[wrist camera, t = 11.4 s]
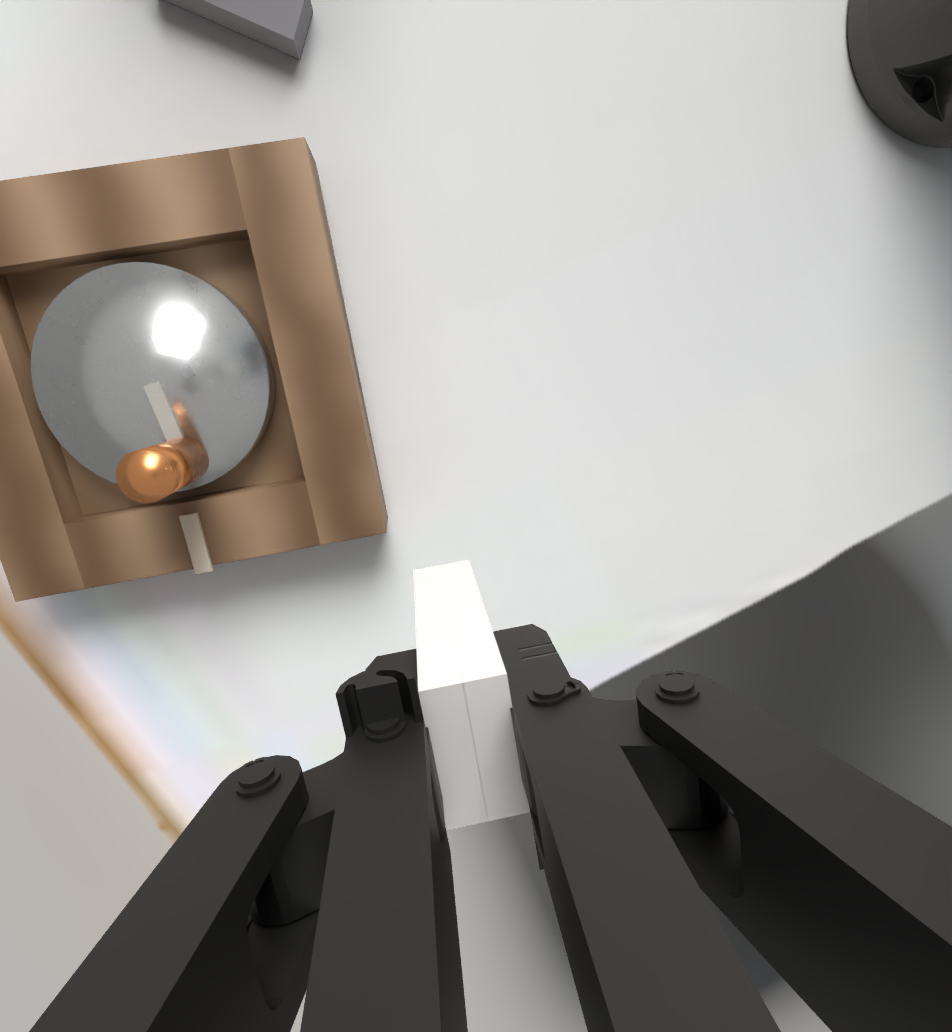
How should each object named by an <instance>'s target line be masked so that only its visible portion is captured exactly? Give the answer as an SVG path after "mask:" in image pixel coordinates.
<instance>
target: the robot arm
mask: <svg viewBox="0 0 952 1032" xmlns="http://www.w3.org/2000/svg"><path fill="white" fill-rule="evenodd" d="M847 31H848V44H849V52H850V57H851V62H852V66H853V70H854V73H855V76H856V79H857V81H858V84H859V86H860V89H861V91H862V93H863V95H864V96H865V98H866V100H867V102H868V103H869V105H870V106H871V108H872V109H873V110H874V112H875V113H876V114H877V115H878V116H879V118H880V119H881V120H882V121H883V122H884V123H885V124H887V125H888V126H889V127H890V128H891V129H893V130H894V131H895V132H897V133H898V134H900V135H902V136H903V137H905V138H907V139H909V140H912V141H914V142H917V143H920V144H924V145H927V146H934V147H952V0H849V7H848V23H847ZM413 572H414V598H415V623H416V649H413V650H407V651H402V652H397V653H392V654H387V655H382V656H377V657H376V658H375V659H374V660H373V662H372V663H371V664H370V665H369V666H368V667H367V669H366V671H364V672H361V673H359V674H357V675H355V676H353V677H351V678H349V679H348V680H347V681H346V682H344V683H343V684H342V685H341V686H340V687H339V689H338V691H337V692H336V698H337V702H338V706H339V710H340V714H341V719H342V723H343V727H344V731H345V735H346V741H345V748H344V752H343V753H341V754H340V755H338V756H337V757H335V758H334V759H332V760H330V761H328V762H326V763H324V764H322V765H320V766H317V767H315V768H312V769H310V770H307V771H305V772H303V773H302V769H301V766H300V764H299V761H298V760H296V759H294V758H292V757H290V756H279V755H276V756H270V757H262V758H259V759H256V760H255V761H251V762H248V763H246V764H244V765H243V766H242V767H240V768H239V769H237V770H235V771H234V772H232V773H231V774H230V775H229V776H228V777H227V778H226V779H224V780H223V781H222V782H221V783H220V785H219V786H218V787H217V788H216V790H215V791H214V792H213V794H212V795H211V796H210V797H209V799H208V800H207V801H206V803H205V804H204V805H203V807H202V808H201V809H200V810H199V812H198V813H197V814H196V816H195V817H194V818H193V820H192V821H191V822H190V823H189V825H188V826H187V827H186V829H185V830H184V831H183V833H182V834H181V835H180V836H179V838H178V839H177V840H176V842H175V843H174V844H173V846H172V847H171V848H170V849H169V851H168V852H167V853H166V855H165V856H164V857H163V859H162V860H161V861H160V863H159V864H158V865H157V866H156V868H155V869H154V870H153V871H152V873H151V874H150V875H149V877H148V878H147V879H146V881H145V882H144V883H143V884H142V886H141V887H140V888H139V890H138V891H137V892H136V894H135V895H134V896H133V897H132V899H131V900H130V901H129V903H128V904H127V905H126V907H125V908H124V909H123V910H122V912H121V913H120V914H119V916H118V917H117V918H116V920H115V921H114V922H113V924H112V925H111V926H110V928H109V929H108V930H107V931H106V932H105V934H104V935H103V936H102V938H101V939H100V940H99V942H98V943H97V944H96V946H95V947H94V948H93V949H92V951H91V952H90V953H89V955H88V956H87V957H86V959H85V960H84V961H83V962H82V964H81V965H80V966H79V968H78V969H77V970H76V971H75V973H74V974H73V975H72V977H71V978H70V979H69V981H68V982H67V983H66V984H65V986H64V987H63V988H62V990H61V991H60V992H59V994H58V995H57V996H56V997H55V999H54V1000H53V1001H52V1003H51V1004H50V1005H49V1006H48V1008H47V1009H46V1011H45V1012H44V1013H43V1014H42V1016H41V1017H40V1018H39V1019H38V1021H37V1022H36V1023H35V1025H34V1026H33V1027H32V1029H31V1030H30V1031H29V1032H290V1031H291V1028H292V1026H293V1023H294V1020H295V1018H296V1015H297V1013H298V1010H299V1007H300V1005H301V1002H302V1000H303V997H304V995H305V992H306V998H305V1004H304V1011H303V1017H302V1024H301V1030H300V1032H468V1029H467V1019H466V1009H465V998H464V988H463V978H462V968H461V957H460V947H459V937H458V926H457V915H456V905H455V895H454V884H453V875H452V864H451V853H450V847H449V842H448V838H447V833H446V830H450V829H455V828H459V827H464V826H468V825H473V824H477V823H482V822H487V821H491V820H496V819H501V818H505V817H510V816H514V815H519V814H523V813H528V812H530V813H531V818H532V825H533V831H534V836H535V843H536V849H537V855H538V861H539V867H540V870H542V869H544V872H545V875H546V879H547V882H548V886H549V890H550V894H551V897H552V901H553V905H554V908H555V912H556V916H557V919H558V923H559V927H560V930H561V934H562V938H563V941H564V945H565V949H566V953H567V956H568V960H569V964H570V967H571V971H572V974H573V978H574V982H575V986H576V989H577V993H578V997H579V1000H580V1004H581V1008H582V1011H583V1015H584V1019H585V1022H586V1026H587V1030H588V1032H781V1031H780V1030H779V1028H778V1026H777V1024H776V1023H775V1021H774V1019H773V1017H772V1016H771V1014H770V1012H769V1010H768V1008H767V1007H766V1005H765V1003H764V1001H763V999H762V998H761V996H760V994H759V992H758V990H757V989H756V987H755V985H754V983H753V982H752V980H751V978H750V976H749V975H748V973H747V971H746V969H745V967H744V966H743V964H742V962H741V960H740V959H739V957H738V955H737V953H736V951H735V950H734V948H733V946H732V944H731V942H730V941H729V939H728V937H727V935H726V934H725V932H724V930H723V928H722V926H721V925H720V923H719V921H718V919H717V918H716V916H715V914H714V912H713V910H712V909H711V907H710V906H709V903H708V902H707V900H706V898H705V896H704V894H703V893H702V891H703V892H704V893H705V894H706V895H707V896H708V897H709V899H710V900H711V901H712V902H713V903H714V904H715V905H716V906H717V907H718V908H719V909H720V910H721V911H722V912H723V914H724V915H725V916H726V917H727V918H728V919H729V920H730V921H731V922H732V923H733V925H734V926H735V927H737V929H738V930H739V931H740V932H741V933H742V934H743V935H744V936H745V937H746V939H747V940H748V941H749V942H750V943H751V944H752V945H753V946H754V947H755V948H756V949H757V951H758V952H759V953H760V954H761V955H762V956H763V957H764V958H765V959H766V960H767V961H768V962H769V964H770V965H771V966H772V967H773V968H774V969H775V970H776V971H777V972H778V973H779V974H780V975H781V976H782V978H783V979H784V980H785V981H786V982H787V983H788V984H789V985H790V986H791V987H792V988H793V990H794V991H795V992H796V993H797V994H798V995H799V996H800V997H801V998H802V999H803V1000H804V1002H806V1004H807V1005H808V1006H809V1007H810V1008H811V1009H812V1010H813V1011H814V1012H815V1013H816V1015H817V1016H818V1017H819V1018H820V1019H821V1020H822V1021H823V1022H824V1023H825V1024H826V1025H827V1026H828V1027H829V1028H830V1030H831V1031H832V1032H952V827H951V826H949V825H948V824H946V823H945V822H943V821H941V820H940V819H938V818H936V817H935V816H933V815H931V814H930V813H928V812H927V811H925V810H923V809H922V808H920V807H918V806H916V805H915V804H913V803H912V802H910V801H908V800H907V799H905V798H903V797H902V796H900V795H899V794H897V793H895V792H894V791H892V790H890V789H889V788H887V787H886V786H884V785H882V784H881V783H879V782H877V781H876V780H874V779H872V778H871V777H869V776H867V775H866V774H864V773H863V772H861V771H859V770H858V769H856V768H855V767H853V766H851V765H850V764H848V763H846V762H845V761H843V760H841V759H840V758H838V757H837V756H835V755H833V754H832V753H830V752H828V751H826V750H825V749H823V748H822V747H820V746H819V745H817V744H815V743H814V742H812V741H810V740H809V739H807V738H805V737H804V736H802V735H800V734H799V733H797V732H796V731H794V730H792V729H790V728H789V727H787V726H786V725H784V724H782V723H781V722H779V721H778V720H776V719H774V718H773V717H771V716H769V715H768V714H766V713H765V712H763V711H761V710H760V709H758V708H756V707H755V706H753V705H751V704H750V703H748V702H746V701H745V700H743V699H742V698H740V697H738V696H737V695H735V694H734V693H732V692H730V691H729V690H727V689H725V688H724V687H722V686H720V685H719V684H717V683H716V682H714V681H712V680H711V679H708V678H706V677H703V676H701V675H699V674H693V673H688V672H684V671H675V672H673V671H668V672H664V673H661V674H656V675H653V676H651V677H649V678H647V679H645V680H643V681H642V682H641V683H640V684H639V686H638V687H637V688H636V699H637V700H634V701H633V700H632V701H613V700H603V699H597V698H594V697H592V695H591V694H590V692H589V690H588V688H587V687H586V686H585V685H584V684H583V683H582V682H581V681H579V680H576V679H574V678H571V677H570V675H569V673H568V671H567V669H566V668H565V666H564V664H563V662H562V660H561V658H560V656H559V654H558V653H557V651H556V649H555V647H554V645H553V644H552V641H551V639H550V638H549V636H548V634H547V632H546V631H544V630H543V629H541V628H539V627H537V626H535V625H533V624H530V625H525V626H520V627H515V628H510V629H504V630H499V631H494V632H493V631H492V628H491V625H490V622H489V619H488V616H487V612H486V609H485V606H484V603H483V600H482V597H481V594H480V591H479V588H478V585H477V582H476V579H475V576H474V573H473V570H472V567H471V564H470V561H469V560H463V561H458V562H453V563H448V564H442V565H437V566H432V567H426V568H421V569H416V570H413ZM528 803H529V804H528ZM529 807H530V810H529ZM445 825H446V828H445ZM701 890H702V891H701ZM306 990H307V991H306Z"/></svg>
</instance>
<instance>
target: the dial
mask: <svg viewBox="0 0 952 1032" xmlns="http://www.w3.org/2000/svg"><path fill="white" fill-rule="evenodd" d="M31 376H32V384H33V389H34V393H35V397H36V401H37V404H38V406H39V409H40V411H41V413H42V416H43V418H44V420H45V421H46V423H47V425H48V427H49V429H50V430H51V432H52V433H53V434H54V436H55V437H56V439H57V440H58V441H59V443H60V444H61V445H62V446H63V447H64V448H65V449H66V450H67V451H68V453H69V454H70V455H71V456H73V457H74V458H75V459H76V460H77V461H78V462H80V463H81V464H82V465H83V466H85V467H86V468H88V469H89V470H91V471H92V472H94V473H95V474H97V475H99V476H101V477H103V478H104V479H106V480H108V481H110V482H113V483H116V484H118V486H119V487H120V489H121V490H122V492H123V493H124V494H125V495H126V496H127V497H129V498H130V499H132V500H134V501H137V502H140V503H153V502H156V501H159V500H161V499H163V498H164V497H166V496H168V495H170V494H172V493H174V492H178V491H185V490H189V489H193V488H197V487H200V486H202V485H205V484H207V483H210V482H212V481H214V480H215V479H217V478H219V477H221V476H223V475H224V474H226V473H228V472H229V471H231V470H233V469H234V468H235V467H237V466H238V465H239V464H241V463H242V462H243V461H244V460H245V459H246V458H247V457H248V456H249V455H250V454H251V453H252V452H253V451H254V449H255V448H256V447H257V445H258V444H259V443H260V441H261V439H262V437H263V436H264V434H265V432H266V430H267V427H268V425H269V422H270V420H271V416H272V412H273V408H274V401H275V375H274V369H273V363H272V360H271V357H270V353H269V350H268V348H267V345H266V343H265V341H264V339H263V336H262V335H261V333H260V331H259V330H258V328H257V326H256V325H255V323H254V322H253V320H252V319H251V318H250V317H249V315H248V314H247V313H246V311H245V310H244V309H243V308H242V307H241V306H240V305H239V304H238V303H237V302H236V301H235V300H234V299H232V298H231V297H230V296H229V295H227V294H226V293H225V292H223V291H222V290H221V289H219V288H217V287H216V286H214V285H212V284H211V283H209V282H207V281H205V280H203V279H201V278H198V277H196V276H194V275H192V274H189V273H187V272H185V271H183V270H179V269H176V268H173V267H170V266H166V265H161V264H155V263H147V262H128V263H118V264H113V265H109V266H105V267H101V268H99V269H96V270H94V271H91V272H89V273H87V274H85V275H83V276H81V277H80V278H78V279H76V280H75V281H73V282H72V283H71V284H70V285H68V286H67V287H66V288H64V289H63V290H62V291H61V292H60V293H59V295H58V296H57V297H56V298H55V299H54V300H53V301H52V303H51V304H50V305H49V307H48V308H47V310H46V311H45V313H44V315H43V317H42V319H41V321H40V323H39V325H38V328H37V331H36V334H35V337H34V341H33V347H32V353H31Z"/></svg>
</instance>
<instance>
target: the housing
mask: <svg viewBox="0 0 952 1032" xmlns="http://www.w3.org/2000/svg"><path fill="white" fill-rule="evenodd" d="M128 262H147V263H155V264H161V265H166V266H170V267H173V268H176V269H179V270H183V271H185V272H187V273H189V274H192V275H194V276H196V277H198V278H201V279H203V280H205V281H207V282H209V283H211V284H212V285H214V286H216V287H217V288H219V289H221V290H222V291H223V292H225V293H226V294H227V295H229V296H230V297H231V298H232V299H234V300H235V301H236V302H237V303H238V304H239V305H240V306H241V307H242V308H243V309H244V310H245V311H246V313H247V314H248V315H249V317H250V318H251V319H252V320H253V322H254V323H255V325H256V326H257V328H258V330H259V331H260V333H261V335H262V336H263V339H264V341H265V343H266V345H267V348H268V350H269V353H270V357H271V360H272V363H273V369H274V375H275V401H274V408H273V412H272V416H271V420H270V422H269V425H268V427H267V430H266V432H265V434H264V436H263V437H262V439H261V441H260V443H259V444H258V445H257V447H256V448H255V449H254V451H253V452H252V453H251V454H250V455H249V456H248V457H247V458H246V459H245V460H244V461H243V462H242V463H241V464H239V465H238V466H237V467H235V468H234V469H233V470H231V471H229V472H228V473H226V474H224V475H223V476H221V477H219V478H217V479H215V480H214V481H212V482H210V483H207V484H205V485H202V486H200V487H197V488H193V489H189V490H185V491H178V492H174V493H172V494H170V495H168V496H166V497H164V498H163V499H161V500H159V501H156V502H153V503H140V502H137V501H134V500H132V499H130V498H129V497H127V496H126V495H125V494H124V493H123V492H122V490H121V489H120V487H119V486H118V484H116V483H113V482H110V481H108V480H106V479H104V478H103V477H101V476H99V475H97V474H95V473H94V472H92V471H91V470H89V469H88V468H86V467H85V466H83V465H82V464H81V463H80V462H78V461H77V460H76V459H75V458H74V457H73V456H71V455H70V454H69V453H68V451H67V450H66V449H65V448H64V447H63V446H62V445H61V444H60V443H59V441H58V440H57V439H56V437H55V436H54V434H53V433H52V432H51V430H50V429H49V427H48V425H47V423H46V421H45V420H44V418H43V416H42V413H41V411H40V409H39V406H38V404H37V401H36V397H35V393H34V389H33V384H32V376H31V353H32V347H33V341H34V337H35V334H36V331H37V328H38V325H39V323H40V321H41V319H42V317H43V315H44V313H45V311H46V310H47V308H48V307H49V305H50V304H51V303H52V301H53V300H54V299H55V298H56V297H57V296H58V295H59V293H60V292H61V291H62V290H63V289H64V288H66V287H67V286H68V285H70V284H71V283H72V282H73V281H75V280H76V279H78V278H80V277H81V276H83V275H85V274H87V273H89V272H91V271H94V270H96V269H99V268H101V267H105V266H109V265H113V264H118V263H128ZM387 519H388V516H387V511H386V506H385V501H384V496H383V492H382V487H381V482H380V477H379V472H378V467H377V462H376V457H375V452H374V447H373V442H372V437H371V433H370V428H369V423H368V418H367V413H366V408H365V403H364V398H363V393H362V388H361V383H360V379H359V374H358V369H357V364H356V359H355V354H354V349H353V344H352V339H351V334H350V329H349V324H348V320H347V315H346V310H345V305H344V300H343V295H342V290H341V285H340V280H339V275H338V270H337V266H336V261H335V256H334V251H333V246H332V241H331V236H330V231H329V226H328V221H327V216H326V211H325V207H324V202H323V197H322V192H321V187H320V182H319V177H318V172H317V167H316V162H315V160H314V158H313V156H312V153H311V151H310V149H309V147H308V144H307V142H306V140H305V137H303V138H296V139H289V140H282V141H275V142H268V143H261V144H254V145H247V146H240V147H233V148H226V149H219V150H212V151H205V152H198V153H191V154H184V155H177V156H170V157H163V158H156V159H149V160H142V161H135V162H128V163H121V164H114V165H107V166H100V167H93V168H86V169H79V170H72V171H65V172H58V173H51V174H44V175H37V176H30V177H23V178H16V179H9V180H2V181H0V560H1V563H2V565H3V568H4V571H5V574H6V576H7V579H8V582H9V585H10V588H11V590H12V593H13V596H14V599H15V601H22V600H27V599H33V598H38V597H43V596H49V595H54V594H60V593H65V592H70V591H76V590H81V589H87V588H92V587H97V586H103V585H108V584H113V583H119V582H124V581H130V580H135V579H140V578H146V577H151V576H157V575H162V574H167V573H173V572H178V571H183V570H189V569H194V571H195V574H201V573H206V572H211V571H213V570H214V568H213V565H216V564H221V563H227V562H232V561H237V560H243V559H248V558H253V557H259V556H264V555H270V554H275V553H280V552H286V551H291V550H297V549H302V548H307V547H313V546H318V545H323V544H329V543H334V542H340V541H345V540H350V539H356V538H361V537H367V536H372V535H377V534H383V533H386V527H387Z"/></svg>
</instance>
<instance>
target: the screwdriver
mask: <svg viewBox="0 0 952 1032" xmlns="http://www.w3.org/2000/svg"><path fill="white" fill-rule="evenodd" d="M164 1H167V2H169V3H171V4H174V5H176V6H178V7H180V8H183V9H185V10H187V11H190V12H192V13H194V14H196V15H199V16H201V17H203V18H206V19H208V20H210V21H212V22H215V23H217V24H219V25H221V26H224V27H226V28H228V29H231V30H233V31H235V32H237V33H240V34H242V35H244V36H247V37H249V38H251V39H253V40H256V41H258V42H260V43H263V44H265V45H267V46H269V47H272V48H274V49H276V50H279V51H281V52H283V53H285V54H288V55H290V56H292V57H295V58H297V59H299V60H300V58H301V54H302V51H303V47H304V43H305V40H306V36H307V32H308V29H309V25H310V21H311V18H312V14H313V9H312V5H311V1H310V0H164Z"/></svg>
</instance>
